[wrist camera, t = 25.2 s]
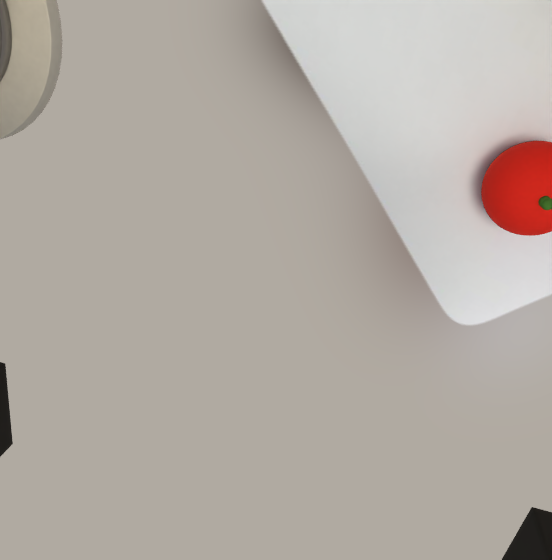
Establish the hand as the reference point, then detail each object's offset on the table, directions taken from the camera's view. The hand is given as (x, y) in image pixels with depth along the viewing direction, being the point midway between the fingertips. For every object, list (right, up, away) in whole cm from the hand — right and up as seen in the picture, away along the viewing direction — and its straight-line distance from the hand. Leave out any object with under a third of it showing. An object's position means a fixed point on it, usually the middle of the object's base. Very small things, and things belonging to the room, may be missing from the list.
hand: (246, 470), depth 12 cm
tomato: (+21, +13, +28) cm, 37 cm away
